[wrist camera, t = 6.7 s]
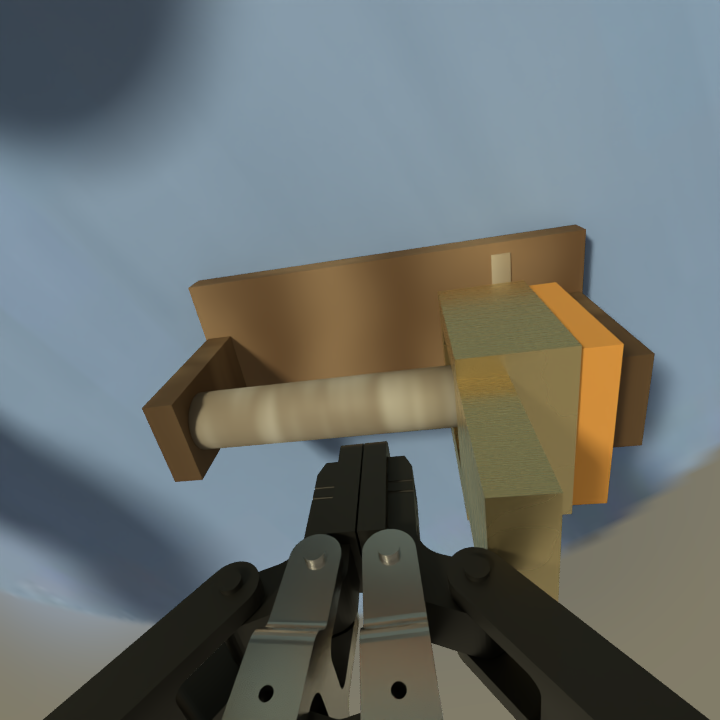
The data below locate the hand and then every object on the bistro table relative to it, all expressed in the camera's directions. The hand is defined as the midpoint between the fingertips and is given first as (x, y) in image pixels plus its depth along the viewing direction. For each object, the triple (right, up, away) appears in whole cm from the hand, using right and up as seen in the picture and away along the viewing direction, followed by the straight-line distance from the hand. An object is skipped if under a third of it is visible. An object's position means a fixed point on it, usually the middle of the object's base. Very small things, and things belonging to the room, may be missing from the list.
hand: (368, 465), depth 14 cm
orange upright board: (+8, +4, +5) cm, 10 cm away
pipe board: (+1, +4, +9) cm, 10 cm away
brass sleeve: (+5, +4, +5) cm, 8 cm away
